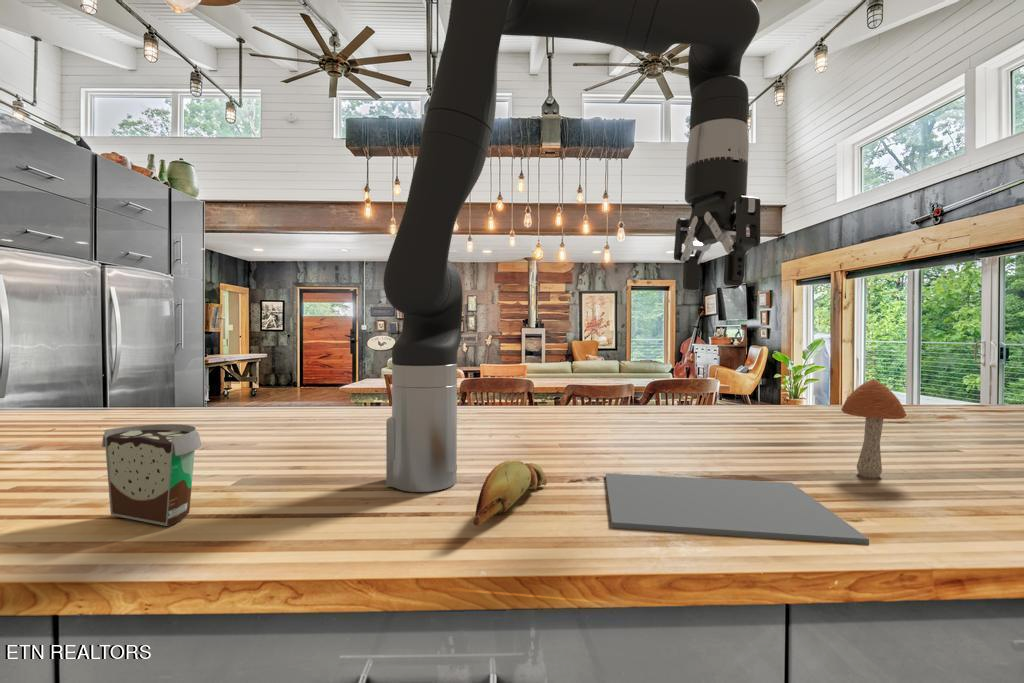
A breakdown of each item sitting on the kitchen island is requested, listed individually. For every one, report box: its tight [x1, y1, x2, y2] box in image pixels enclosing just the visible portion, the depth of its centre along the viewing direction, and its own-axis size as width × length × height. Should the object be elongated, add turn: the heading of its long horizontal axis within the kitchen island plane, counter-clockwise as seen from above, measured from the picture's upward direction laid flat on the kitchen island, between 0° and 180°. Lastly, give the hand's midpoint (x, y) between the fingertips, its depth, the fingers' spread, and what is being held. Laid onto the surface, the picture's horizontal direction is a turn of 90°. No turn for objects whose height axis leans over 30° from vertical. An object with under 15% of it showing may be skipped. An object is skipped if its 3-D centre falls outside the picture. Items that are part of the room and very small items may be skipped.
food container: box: [101, 423, 202, 527], centre depth 58 cm, size 12×6×10 cm, turn 71°
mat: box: [605, 472, 870, 545], centre depth 61 cm, size 26×19×1 cm
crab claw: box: [473, 460, 548, 527], centre depth 59 cm, size 7×5×20 cm
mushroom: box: [841, 378, 907, 479], centre depth 73 cm, size 8×8×15 cm
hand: (710, 288), depth 64 cm, fingers open, 8 cm apart
